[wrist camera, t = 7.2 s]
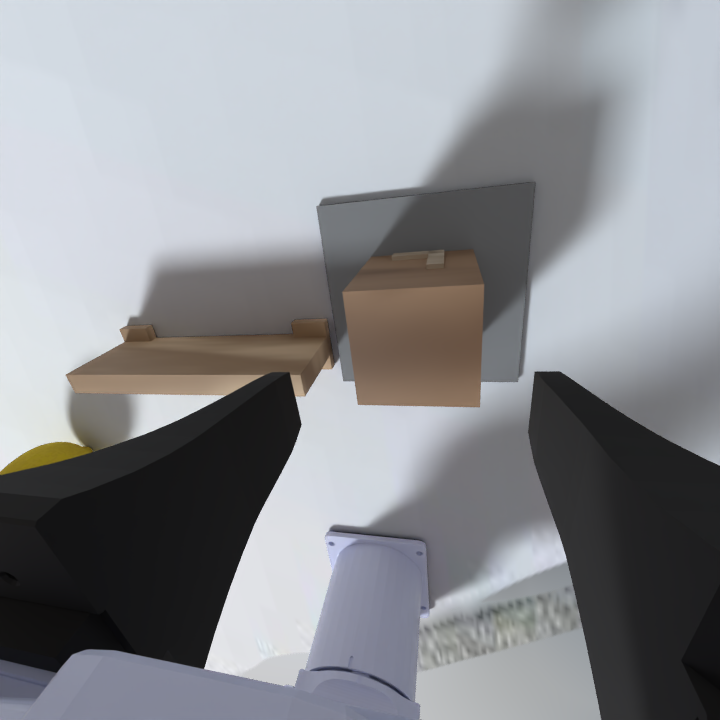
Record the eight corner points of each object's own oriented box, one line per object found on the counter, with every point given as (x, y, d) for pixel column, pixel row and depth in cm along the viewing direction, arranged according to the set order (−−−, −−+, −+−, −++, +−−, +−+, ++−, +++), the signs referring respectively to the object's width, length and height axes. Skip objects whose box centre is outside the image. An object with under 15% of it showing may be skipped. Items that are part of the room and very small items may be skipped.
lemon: (60, 412, 30) (-56, 486, 23) (122, 441, 30) (26, 524, 23) (60, 455, 33) (-43, 533, 26) (117, 482, 33) (30, 567, 26)
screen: (334, 364, 23) (308, 411, 18) (143, 365, 26) (82, 406, 22) (327, 318, 21) (296, 357, 17) (126, 325, 25) (57, 360, 20)
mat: (517, 379, 21) (517, 381, 20) (344, 378, 23) (343, 381, 23) (533, 182, 16) (535, 182, 16) (318, 206, 19) (316, 206, 18)
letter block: (471, 344, 20) (479, 407, 15) (379, 345, 21) (358, 404, 16) (473, 244, 18) (484, 278, 12) (370, 252, 19) (341, 286, 14)
